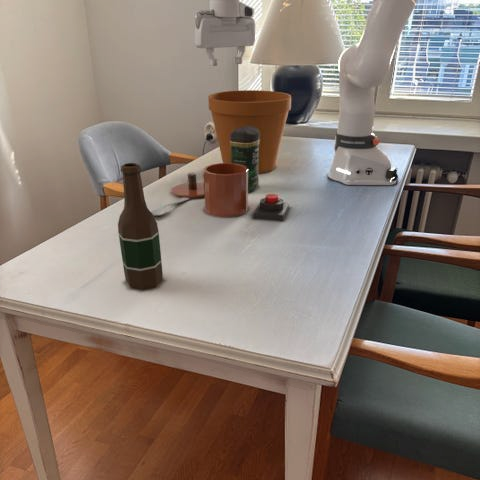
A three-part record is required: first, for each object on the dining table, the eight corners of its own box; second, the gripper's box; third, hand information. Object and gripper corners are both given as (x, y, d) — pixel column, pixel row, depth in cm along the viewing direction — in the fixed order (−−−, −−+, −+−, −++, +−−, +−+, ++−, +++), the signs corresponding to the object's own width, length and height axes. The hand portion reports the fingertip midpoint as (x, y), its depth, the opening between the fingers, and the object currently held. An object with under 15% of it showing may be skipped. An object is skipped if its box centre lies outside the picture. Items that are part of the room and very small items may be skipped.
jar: (251, 204, 141) (251, 164, 135) (242, 218, 131) (242, 176, 125) (211, 201, 143) (210, 162, 137) (200, 215, 133) (198, 173, 127)
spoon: (144, 218, 131) (143, 212, 130) (183, 196, 147) (182, 191, 146) (156, 220, 130) (156, 215, 129) (194, 198, 146) (194, 192, 145)
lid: (218, 187, 155) (217, 169, 152) (207, 200, 144) (206, 181, 141) (179, 185, 157) (178, 167, 154) (165, 197, 146) (164, 178, 143)
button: (266, 199, 135) (266, 193, 134) (279, 200, 134) (279, 194, 133) (264, 204, 132) (264, 197, 131) (277, 204, 131) (277, 198, 130)
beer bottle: (127, 274, 103) (111, 159, 91) (164, 272, 104) (153, 158, 91) (123, 291, 97) (105, 171, 84) (162, 290, 97) (150, 170, 85)
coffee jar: (249, 194, 148) (250, 131, 138) (226, 191, 151) (225, 128, 141) (262, 186, 156) (263, 125, 146) (240, 183, 159) (240, 123, 149)
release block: (261, 205, 140) (261, 193, 138) (288, 207, 138) (289, 195, 137) (253, 218, 131) (253, 206, 129) (282, 221, 129) (283, 208, 128)
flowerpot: (202, 175, 166) (199, 101, 153) (219, 155, 189) (218, 89, 177) (283, 179, 162) (287, 103, 149) (291, 158, 185) (294, 91, 172)
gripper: (201, 9, 130) (203, 67, 137) (259, 9, 141) (258, 63, 148) (188, 10, 134) (191, 66, 141) (245, 10, 145) (245, 62, 152)
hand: (226, 64), depth 145 cm, fingers open, 8 cm apart
